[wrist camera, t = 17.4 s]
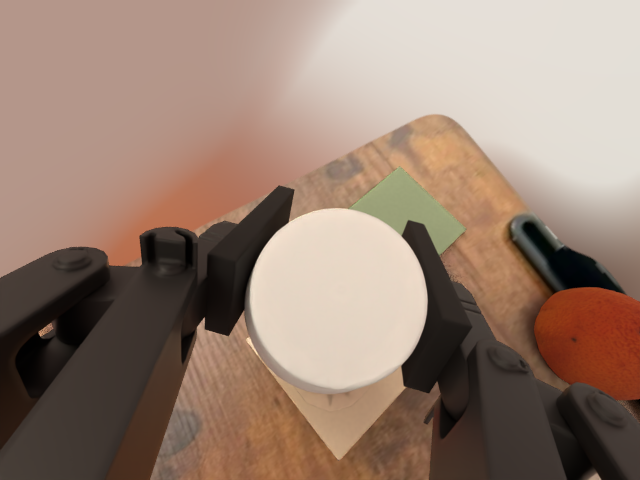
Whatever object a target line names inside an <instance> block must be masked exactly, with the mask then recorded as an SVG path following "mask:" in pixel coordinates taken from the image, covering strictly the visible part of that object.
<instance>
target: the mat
mask: <svg viewBox="0 0 640 480" xmlns="http://www.w3.org/2000/svg"><path fill="white" fill-rule="evenodd" d="M348 209H350V210H356V211H360V212H363V213H366V214H368V215H371V216H373V217H376V218H378V219H379V220H381V221H383V222H384V223H386V224H387V225H389V226H390V227H392V228H393V229H394V230H395V231H396V232H397V233H399V234H400V235H401V236H402V234H403V231H404V229H405V226H406V224H407V221H408V220H411V221H415V222H418V223H422V224H424V225H425V227H426V229H427V231H428V233H429V235H430V237H431V239H432V242H433V244H434V246H435V248H436V250H437V252H438V254H439V256H440V255H441V254H442V253H443V252H444V251H445V250H446V249H447V248H448V247H449V246H450V245H451V244H452V243H453V242H454V241H455V240H456V239H457V238H458V237H459V236H460V235H461V234H462V233H463V232H464V231H465V230H466V228H465V227H464V226H463V225H462V224H461V223H460V222H459V221H458V220H456V219H455V218H454V217H453V216H452V215H451V214H450V213H449V212H448V211H447V210H446V209H445V208H444V207H443V206H442V205H441V204H439V203H438V202H437V201H436V200H435V199H434V198H433V197H432V196H431V195H430V194H429V193H428V192H427V191H426V190H425V189H424V188H422V187H421V186H420V185H419V184H418V183H417V182H416V181H415V180H414V179H413V178H412V177H411V176H410V175H409V174H408V173H407V172H405V171H404V170H403V169H402V168H401V167H400V166H399V167H398V168H397V169H396V170H395V171H393V172H392V173H391V174H390V175H389V176H387V177H386V178H385V179H384V180H382V181H381V182H380V183H379V184H378V185H376V186H375V187H374V188H373V189H372V190H370V191H369V192H368V193H367V194H365V195H364V196H363V197H362V198H361V199H359V200H358V201H357V202H356V203H354V204H353V205H352V206H351V207H350V208H348Z"/></svg>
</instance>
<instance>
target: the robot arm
mask: <svg viewBox="0 0 640 480" xmlns="http://www.w3.org/2000/svg"><path fill="white" fill-rule="evenodd" d="M293 195H294V189H290V188H286V187H283V186H278V187H277V188H276V189H275V190H274V191H273V192H271V193H270V194H269V195H268V196H267V197H266V198H265V199H264V200H263V201H262V202H261V203H260V204H259V205H258V206H257V207H256V208H255V209H254V210H253V211H252V212H250V213H249V214H248V215H247V216H246V217H245V218H244V219H243V220H242V221H241V222H240V223H239V224H235V223H231V222H228V221H223V222H220V223H217V224H214V225H212V226H211V227H210V228H209V229H207V230H206V231H205V232H204V233H202V234H201V235H200V236H199V238H198V237H197V236H196V234H195V233H193V232H191V231H189V230H187V229H183V228H178V227H162V228H155V229H152V230H149V231H146V232H144V233H143V234H142V235H140V246H141V257H142V265H141V266H140V267H127V266H110V265H109V262H108V256H107V255H106V254H105V252H104V251H101V250H99V249H97V248H89V247H70V248H66V249H61V250H57V251H55V252H52V253H49V254H47V255H45V256H43V257H41V258H39V259H37V260H35V261H33V262H31V263H29V264H27V265H25V266H23V267H21V268H19V269H17V270H15V271H13V272H11V273H9V274H7V275H5V276H3V277H1V278H0V480H150V477H151V474H152V471H153V468H154V465H155V462H156V459H157V456H158V453H159V450H160V447H161V444H162V441H163V438H164V435H165V432H166V429H167V426H168V423H169V420H170V417H171V414H172V411H173V408H174V405H175V402H176V399H177V396H178V393H179V390H180V387H181V384H182V381H183V378H184V375H185V372H186V369H187V365H188V362H189V359H190V356H191V353H192V350H193V347H194V344H195V341H196V335H197V326H198V325H199V324H200V322H201V321H202V320H203V318H204V317H205V330H209V331H212V332H216V333H219V334H223V335H226V336H229V335H230V333H231V331H232V329H233V328H234V326H235V324H236V323H237V321H238V319H239V318H240V316H241V314H242V313H243V311H244V302H245V293H246V287H247V283H248V280H249V277H250V274H251V272H252V269H253V268H254V266H255V264H256V262H257V259H258V257H259V256H260V254H261V252H262V250H263V249H264V247H265V246H266V244H267V243H268V241H269V240H270V239H271V238H272V237H273V235H274V234H275V233H276V232H277V231H278V230H280V229H281V228H282V227H284V226H285V225H286V224H288V222H289V217H290V211H291V206H292V200H293ZM402 238H403V239H404V240H405V241H406V242H407V243H408V245H409V246H410V247H411V249H412V250H413V252H414V254H415V256H416V257H417V259H418V261H419V264H420V266H421V268H422V271H423V275H424V278H425V283H426V289H427V298H428V303H427V316H426V321H425V325H424V329H423V331H422V334H421V336H420V339H419V342H418V343H417V345H416V347H415V349H414V350H413V352H412V354H411V355H410V356H409V358H408V359H407V360H406V361H405V362H404V363H403V364H402V365H401V369H402V377H403V385H404V386H405V387H408V388H412V389H415V390H419V391H422V392H426V393H429V392H430V391H431V389H432V388H433V386H434V385H435V383H436V382H437V381H438V385H439V389H440V393H441V395H440V396H439V398H438V399H437V401H436V402H435V403H434V405H433V406H432V408H431V409H430V411H429V412H428V413H427V415H426V417H425V419H424V422H423V423H425V424H428V423H429V421H430V420H431V419H432V417H433V430H432V445H431V460H430V474H429V480H588V479H589V478H591V477H592V476H594V475H595V474H597V473H598V475H599V477H600V478H601V480H640V424H639V423H638V421H637V420H636V419H635V418H634V417H633V416H632V415H631V414H630V413H629V412H628V411H627V410H626V409H625V408H624V407H623V406H622V405H621V404H619V403H618V402H617V401H616V400H615V399H614V398H613V397H611V396H610V395H608V394H606V393H605V392H603V391H601V390H600V389H597V388H595V387H593V386H590V385H588V384H585V383H579V382H576V383H574V384H572V385H570V386H569V387H568V388H567V389H566V390H565V391H564V392H562V391H560V390H558V389H556V388H554V387H552V386H550V385H548V384H546V383H544V382H542V381H540V380H538V379H536V378H534V375H533V372H532V370H531V368H530V367H529V365H528V363H527V362H526V361H525V360H524V359H523V358H522V357H521V356H520V355H519V354H518V353H517V352H515V351H514V350H513V349H511V348H510V347H508V346H506V345H505V344H503V343H501V342H498V341H497V340H496V338H495V337H494V335H493V333H492V331H491V329H490V327H489V326H488V324H487V322H486V320H485V318H484V316H483V315H482V314H481V311H480V309H479V307H478V306H476V305H477V304H476V302H475V300H474V298H473V296H472V294H471V293H470V292H469V291H468V290H467V289H466V288H465V287H464V286H463V285H462V284H460V283H456V282H453V281H451V280H450V278H449V276H448V274H447V271H446V269H445V267H444V265H443V263H442V261H441V259H440V257H439V254H438V252H437V250H436V248H435V246H434V244H433V242H432V239H431V237H430V235H429V233H428V231H427V229H426V227H425V225H424V224H422V223H418V222H415V221H411V220H408V221H407V224H406V226H405V229H404V231H403V234H402ZM51 322H52V325H53V328H54V329H52V330H51V331H50V332H48V333H47V334H45V335H43V336H41V337H40V336H39V333H38V332H39V331H40V330H41V329H43V328H44V327H46V326H47V325H48V324H50V323H51Z"/></svg>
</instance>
